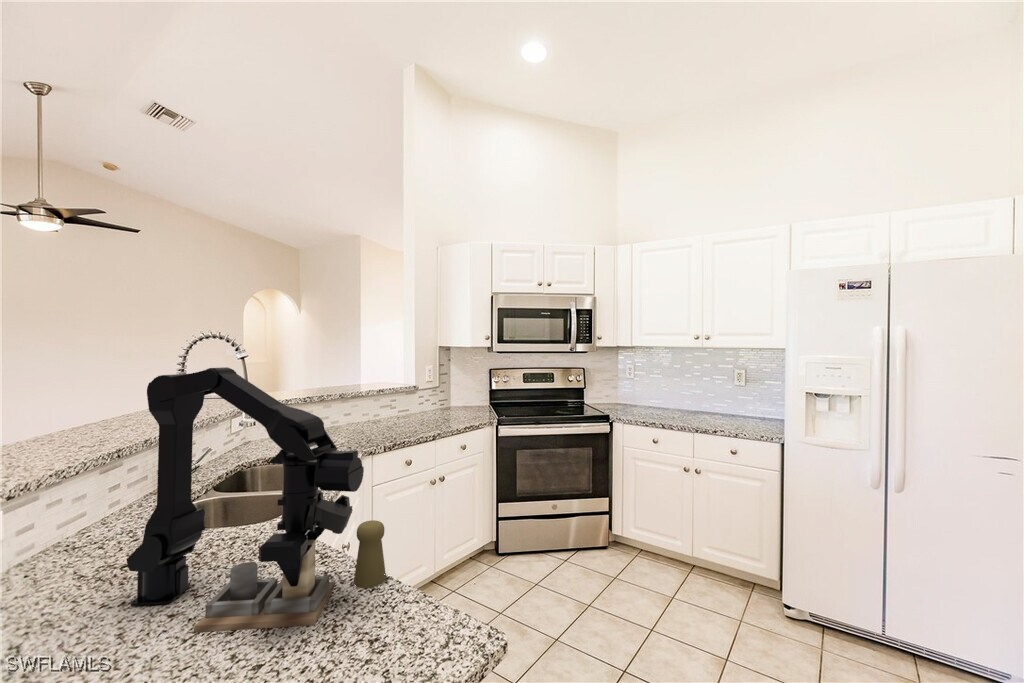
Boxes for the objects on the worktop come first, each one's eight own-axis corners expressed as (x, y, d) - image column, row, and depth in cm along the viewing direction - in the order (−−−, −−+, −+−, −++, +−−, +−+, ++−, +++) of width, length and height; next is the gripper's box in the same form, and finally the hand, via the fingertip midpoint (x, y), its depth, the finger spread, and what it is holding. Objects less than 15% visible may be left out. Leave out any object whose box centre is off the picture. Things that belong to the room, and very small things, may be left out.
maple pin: (282, 598, 76) (283, 550, 76) (291, 586, 80) (292, 540, 80) (307, 597, 77) (308, 549, 77) (314, 585, 81) (315, 539, 81)
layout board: (194, 632, 71) (195, 586, 71) (232, 592, 83) (233, 553, 83) (314, 624, 73) (315, 580, 73) (334, 586, 85) (335, 549, 85)
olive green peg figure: (376, 589, 84) (377, 529, 84) (347, 586, 85) (348, 527, 85) (391, 574, 90) (392, 518, 90) (363, 571, 91) (364, 515, 91)
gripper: (333, 505, 71) (331, 606, 70) (359, 473, 89) (358, 554, 89) (258, 507, 69) (255, 611, 69) (300, 475, 88) (299, 556, 87)
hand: (298, 579), depth 78 cm, fingers closed on maple pin, 4 cm apart
